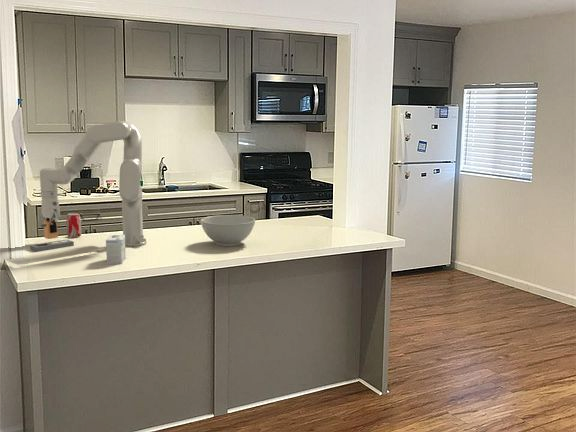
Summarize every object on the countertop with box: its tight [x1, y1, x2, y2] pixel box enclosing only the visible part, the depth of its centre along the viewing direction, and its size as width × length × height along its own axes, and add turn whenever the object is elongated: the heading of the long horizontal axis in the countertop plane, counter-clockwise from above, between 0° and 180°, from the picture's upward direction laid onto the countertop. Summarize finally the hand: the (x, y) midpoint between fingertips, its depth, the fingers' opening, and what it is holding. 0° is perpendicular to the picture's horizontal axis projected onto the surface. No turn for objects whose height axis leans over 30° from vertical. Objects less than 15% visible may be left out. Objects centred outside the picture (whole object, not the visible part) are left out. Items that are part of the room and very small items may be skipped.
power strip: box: [29, 239, 75, 253], centre depth 305 cm, size 7×18×4 cm, turn 136°
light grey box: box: [105, 234, 127, 265], centre depth 285 cm, size 11×7×11 cm, turn 5°
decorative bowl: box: [200, 214, 256, 247], centre depth 320 cm, size 27×27×12 cm
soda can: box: [65, 212, 82, 239], centre depth 335 cm, size 7×7×12 cm
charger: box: [40, 219, 59, 240], centre depth 313 cm, size 4×7×8 cm, turn 136°
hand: (51, 231), depth 314 cm, fingers closed on charger, 4 cm apart
